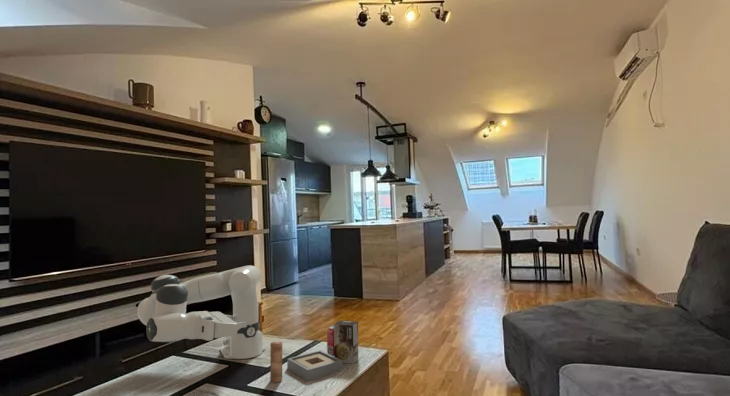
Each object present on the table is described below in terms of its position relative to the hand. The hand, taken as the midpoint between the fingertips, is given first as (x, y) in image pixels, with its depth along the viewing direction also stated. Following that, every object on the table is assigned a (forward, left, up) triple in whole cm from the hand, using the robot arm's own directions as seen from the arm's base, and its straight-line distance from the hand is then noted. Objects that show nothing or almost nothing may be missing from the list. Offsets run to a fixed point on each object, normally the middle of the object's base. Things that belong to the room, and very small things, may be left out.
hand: (241, 321), depth 146 cm
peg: (0, +14, -25) cm, 28 cm away
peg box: (0, +31, -25) cm, 39 cm away
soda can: (-10, +48, -25) cm, 55 cm away
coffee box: (0, +47, -25) cm, 53 cm away
